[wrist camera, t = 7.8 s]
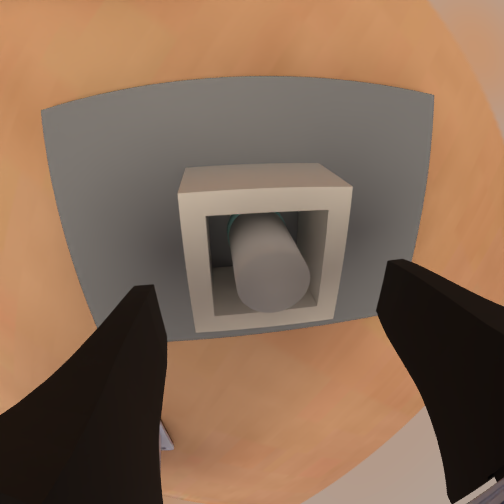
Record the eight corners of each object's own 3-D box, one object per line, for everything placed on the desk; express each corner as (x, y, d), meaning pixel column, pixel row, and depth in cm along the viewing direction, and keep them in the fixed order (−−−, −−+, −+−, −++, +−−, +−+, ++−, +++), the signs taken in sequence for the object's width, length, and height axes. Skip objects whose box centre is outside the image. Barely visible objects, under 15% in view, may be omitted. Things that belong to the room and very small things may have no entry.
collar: (196, 282, 15) (195, 332, 12) (185, 167, 12) (177, 193, 9) (309, 274, 15) (333, 318, 12) (318, 163, 13) (352, 186, 10)
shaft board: (107, 332, 17) (87, 405, 12) (51, 108, 11) (-23, 125, 6) (390, 302, 19) (432, 360, 14) (422, 93, 12) (501, 107, 8)
